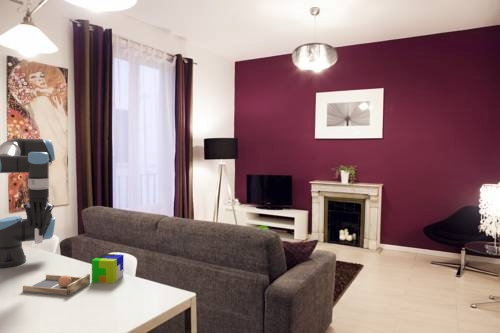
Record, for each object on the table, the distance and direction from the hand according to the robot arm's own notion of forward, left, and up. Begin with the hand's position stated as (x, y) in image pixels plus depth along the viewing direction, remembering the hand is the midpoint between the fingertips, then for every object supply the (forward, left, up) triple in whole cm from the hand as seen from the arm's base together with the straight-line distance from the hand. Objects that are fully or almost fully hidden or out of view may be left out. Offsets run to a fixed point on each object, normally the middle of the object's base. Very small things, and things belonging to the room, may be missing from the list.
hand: (38, 242), depth 151 cm
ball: (+1, +13, -16) cm, 20 cm away
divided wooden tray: (0, +9, -19) cm, 21 cm away
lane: (0, +9, -19) cm, 21 cm away
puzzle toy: (-14, +24, -19) cm, 34 cm away
